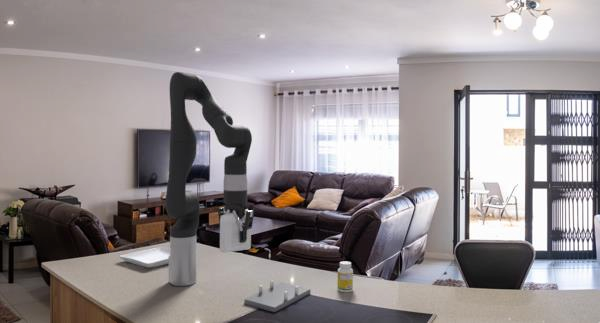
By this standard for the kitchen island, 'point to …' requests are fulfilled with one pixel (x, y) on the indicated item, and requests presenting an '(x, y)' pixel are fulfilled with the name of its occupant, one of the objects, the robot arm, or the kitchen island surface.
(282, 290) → the pin tray
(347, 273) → the supplement bottle
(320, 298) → the kitchen island surface
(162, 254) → the salad plate
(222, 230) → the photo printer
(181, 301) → the kitchen island surface
